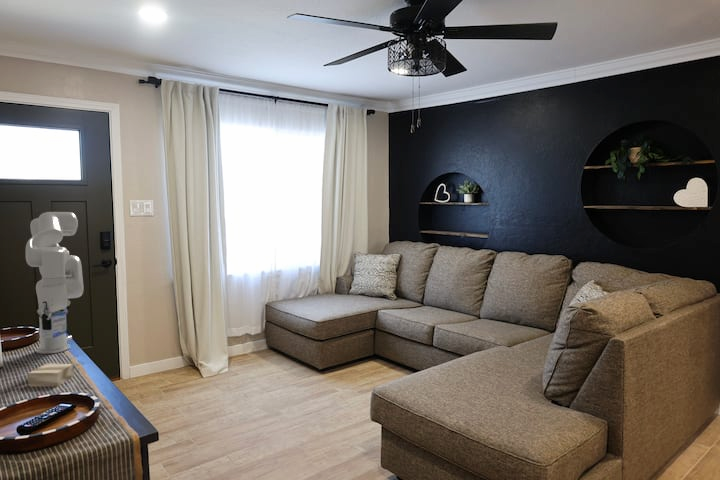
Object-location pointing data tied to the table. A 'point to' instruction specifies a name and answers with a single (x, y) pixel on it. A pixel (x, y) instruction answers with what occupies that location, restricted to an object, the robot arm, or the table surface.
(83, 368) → the table surface
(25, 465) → the table surface
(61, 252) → the robot arm
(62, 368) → the wooden block
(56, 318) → the medicine box
